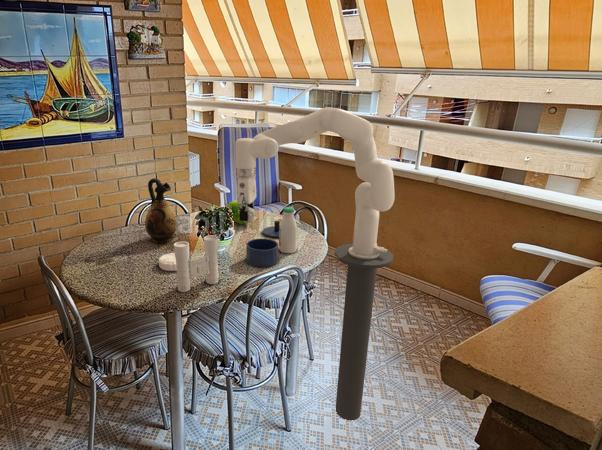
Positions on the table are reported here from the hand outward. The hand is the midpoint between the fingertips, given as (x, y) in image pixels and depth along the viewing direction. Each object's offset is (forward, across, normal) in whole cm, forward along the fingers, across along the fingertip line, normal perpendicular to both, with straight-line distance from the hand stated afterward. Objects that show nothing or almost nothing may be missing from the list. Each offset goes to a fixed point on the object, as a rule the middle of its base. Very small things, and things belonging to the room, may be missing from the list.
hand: (246, 217), depth 158 cm
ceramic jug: (+22, +20, +51) cm, 59 cm away
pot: (+23, +11, -3) cm, 25 cm away
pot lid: (+22, +45, -1) cm, 50 cm away
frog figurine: (+2, 0, 0) cm, 2 cm away
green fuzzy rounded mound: (+23, +55, +22) cm, 64 cm away
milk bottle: (+23, +25, -11) cm, 36 cm away
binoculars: (+22, -18, +14) cm, 32 cm away
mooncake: (+22, -5, +31) cm, 39 cm away
